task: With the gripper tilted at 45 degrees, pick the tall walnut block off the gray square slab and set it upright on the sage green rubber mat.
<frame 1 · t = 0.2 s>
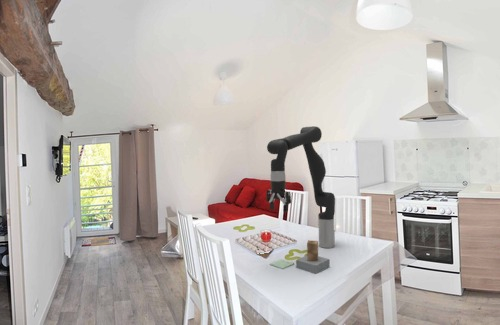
hand: (278, 210, 166), 29 cm above the table, tool pointing down, fingers open, 8 cm apart
mat: (281, 264, 170), on the table
walnut block: (312, 259, 165), point 4 cm above the table, touching gray square slab
gray square slab: (312, 267, 165), on the table
wooden fragment: (264, 251, 193), on the table
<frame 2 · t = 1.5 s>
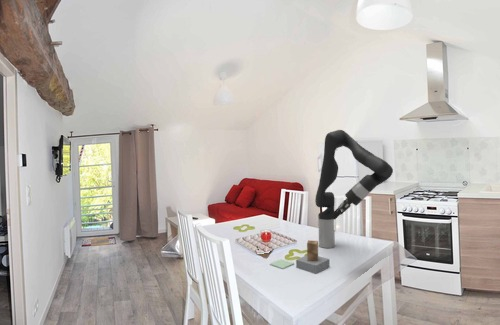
hand: (333, 216, 161), 27 cm above the table, tool tilted 45°, fingers open, 8 cm apart
nothing on the table moved.
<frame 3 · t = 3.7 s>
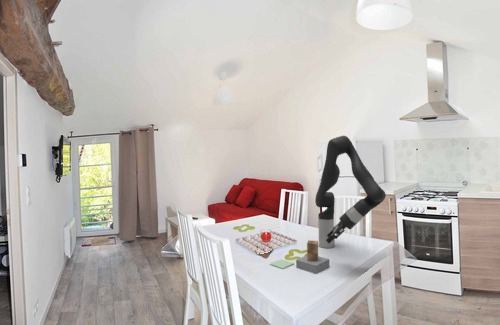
hand: (327, 239, 163), 15 cm above the table, tool tilted 45°, fingers open, 8 cm apart
nothing on the table moved.
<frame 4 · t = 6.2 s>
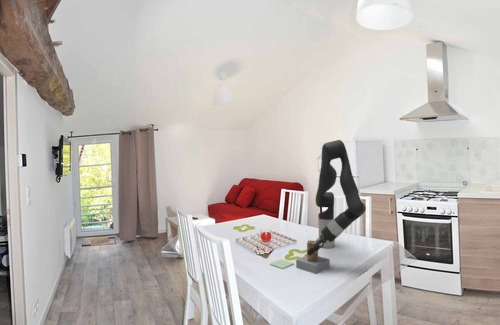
hand: (309, 252, 166), 8 cm above the table, tool tilted 45°, fingers closed on walnut block, 5 cm apart
walnut block: (312, 259, 165), point 4 cm above the table, touching gripper, gray square slab
everything else where it was.
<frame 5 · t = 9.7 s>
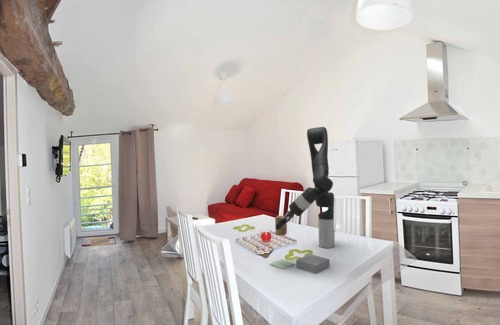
hand: (277, 227, 169), 20 cm above the table, tool tilted 45°, fingers closed on walnut block, 5 cm apart
walnut block: (281, 233, 169), point 16 cm above the table, touching gripper
everything else where it was.
when the fingers open (6 cm above the table, at t = 13.1 s): walnut block drops 1 cm, resting on mat.
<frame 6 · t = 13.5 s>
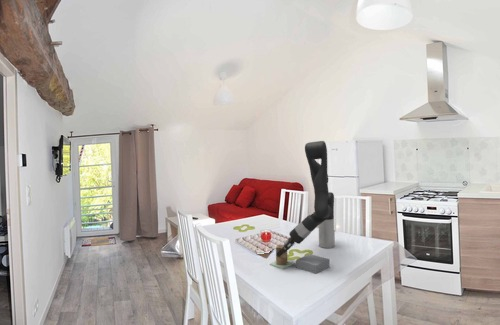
hand: (279, 252, 170), 6 cm above the table, tool tilted 45°, fingers open, 8 cm apart
walnut block: (281, 263, 170), point 1 cm above the table, touching mat
everything else where it was.
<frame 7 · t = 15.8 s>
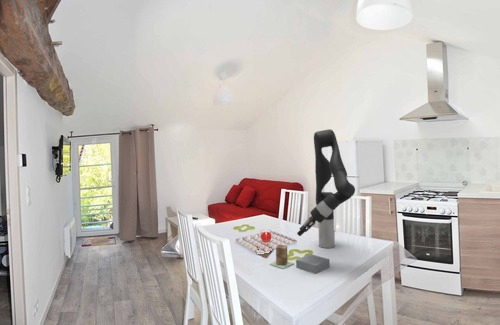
hand: (299, 232, 167), 17 cm above the table, tool tilted 45°, fingers open, 8 cm apart
nothing on the table moved.
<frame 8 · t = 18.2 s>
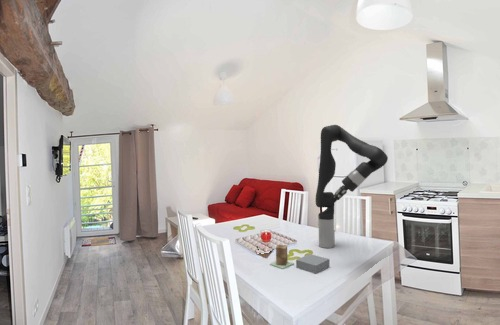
hand: (330, 202, 167), 33 cm above the table, tool tilted 45°, fingers open, 8 cm apart
nothing on the table moved.
at the end: walnut block inside the target area on the mat (0.1 cm from its centre), point 0.6 cm above the mat's base; walnut block tilted 0°; the gripper is holding nothing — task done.
